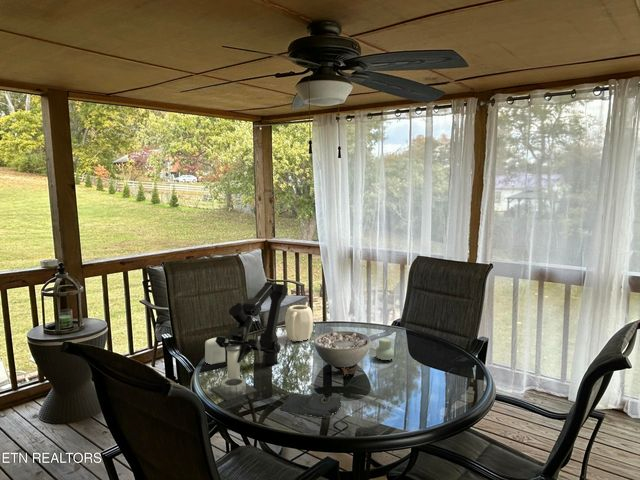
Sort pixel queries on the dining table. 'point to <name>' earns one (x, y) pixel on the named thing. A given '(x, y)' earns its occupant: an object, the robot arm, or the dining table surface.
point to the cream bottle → (233, 361)
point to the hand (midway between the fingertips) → (232, 362)
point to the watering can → (299, 322)
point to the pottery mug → (350, 370)
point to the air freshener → (384, 349)
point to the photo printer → (214, 352)
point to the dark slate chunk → (311, 404)
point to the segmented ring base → (233, 388)
